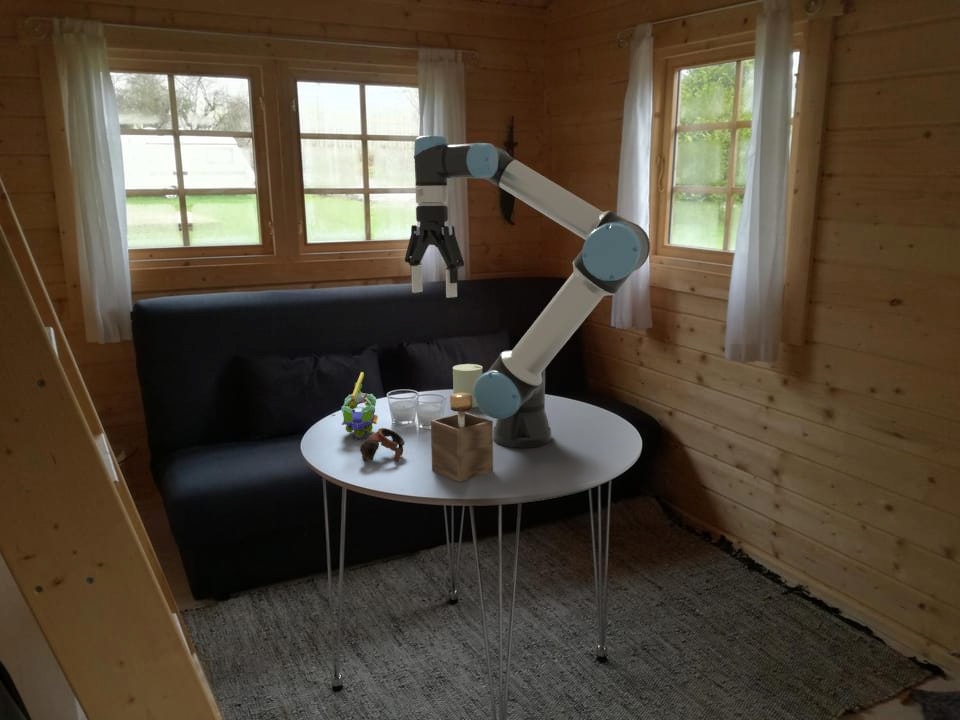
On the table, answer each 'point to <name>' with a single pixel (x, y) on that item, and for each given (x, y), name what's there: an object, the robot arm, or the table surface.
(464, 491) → the table surface
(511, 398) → the robot arm
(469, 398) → the plunger
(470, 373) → the can
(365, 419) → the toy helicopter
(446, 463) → the box
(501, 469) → the table surface
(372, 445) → the brown arched band part
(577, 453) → the table surface
